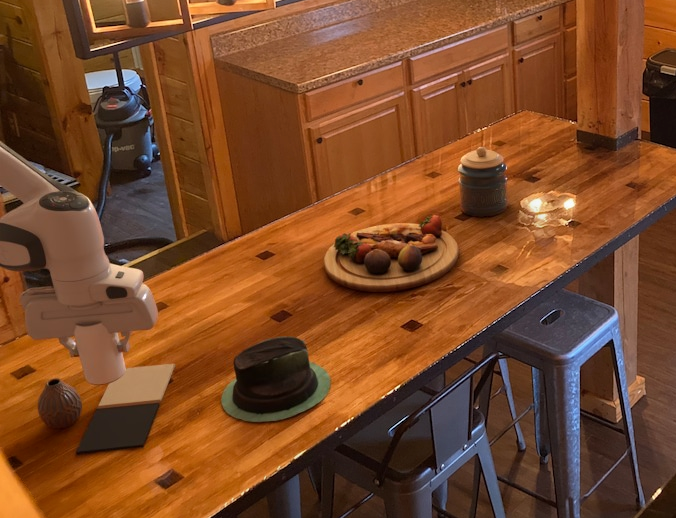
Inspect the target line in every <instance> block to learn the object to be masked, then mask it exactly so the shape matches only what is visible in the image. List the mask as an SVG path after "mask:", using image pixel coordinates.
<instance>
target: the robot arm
mask: <svg viewBox="0 0 676 518" xmlns="http://www.w3.org/2000/svg"><path fill="white" fill-rule="evenodd" d="M0 187H1V188H3V190H6V191H7V192H8V193H10V194H11V195H13V196H14V197H15V198H17V199H18V200H20V201H21V202H22V204H21V205H19V206H17V207H16V208H14V209H12V210H10V211H9V212H6V213H5V214H3V215H2V216H1V217H0V268H1V269H5V270H7V271H12V272H19V273H21V272H33V271H40V270H43V269H46V270H48V271H49V273H50V278H51V282H52V285H50V286H48V285H47V286H41V287H30V288H27V289H26V290H25V291H23V292H22V293H21V294H20V295H19V302H20V305H21V306H20V307H21V308H22V309H23V311H24V317H25V327H26V334H27V335H28V337H30V339H32V340H34V341H40V340H53V339H58V341H59V344H61V345H62V346H63V347H64V348H65V349H66V350H68V353H69V355H70V358H80V357H79V353H78V349H77V345H76V341H74V339H72V338H75V335H74V331H75V328H76V325H75V324H77V325H88V324H97V323H99V322H102V325H103V326H104V327H105V328H106V329H107V331H108V333H118V334H119V333H120V335H121V336H120V337H123V339H119V343H118V344H117V349H119V350H118V352H119V353H122V354H123V353H129V351H130V349H131V345H130V341H129V340H130V338H131V335H132V334H133V332H139V331H140V332H141V331H149V330H152V329H153V328H154V326H155V325H156V323H157V322H158V319H159V310H158V306H157V303H156V301H155V297H154V295H153V293H152V291H151V289H150V288H149V286H148V285H147V284H146V283H143V282H144V277H145V275H144V272H143V271H142V270H141V269H139V268H133V267H128V266H123V265H118V264H114V263H111V262H110V260H109V257H108V255H107V254H106V252H105V249H104V247H105V237H104V233H103V229H102V225H101V221H100V219H99V215H98V212H97V211H96V208H95V206H94V204H93V203H92V201H91V200H90V199H89V197H88V196H87V195H85V194H83V193H81V192H78V191H76V189H73V188H72V187H70V186H68V185H66V184H64V183H62V182H60V181H58V180H55V178H53V177H51V176H50V175H48V174H47V173H45V172H44V171H42V170H40V168H38V167H37V166H35V164H32V163H31V162H30V161H28V160H27V159H25V158H24V157H23V156H22V155H20V154H19V153H18V152H16V151H15V150H13V149H12V148H11V147H9V146H7V145H6V144H5V143H4V142H2V141H1V140H0Z"/></svg>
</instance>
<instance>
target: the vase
mask: <svg viewBox="0 0 676 518" xmlns="http://www.w3.org/2000/svg"><path fill="white" fill-rule="evenodd" d="M82 411H83V401H82V398H81V395H80V393H79V392H78V390H77V389H76V388H75V387H74V386H72V385H70V384H68V383H66V382H64V381H63V380H62V379H60V378H56V377H55V378H52V379H50V380H49V379H48V381H47V382H46V383H45V386H44V389H43V390H42V392H41V393H40V395H39V397H38V400H37V413H38V415H39V418H40V419H41V421H42V422H43V423H44V425H46V426H48V427H49V428H53V429H57V430H58V429H60V430H61V429H65V428H68V427H71V426H72V425H74V424H75V423H76V422H77V421H78V419H79V418H80V416H81V414H82Z"/></svg>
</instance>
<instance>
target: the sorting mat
mask: <svg viewBox="0 0 676 518" xmlns="http://www.w3.org/2000/svg"><path fill="white" fill-rule="evenodd" d="M175 367H176V364H175V363H167V364H166V363H165V364H155V365H145V366H135V367H126V370H125V373H124V374H123V376H122V377H121V378H119V379H118V380H116V381H114V382H112V383H109V384H107V386H106V389H105V391H104V393H103V395H102V397H101V399H100V401H99V403H98V405H97V407H96V410H95V412H94V413H93V416H92V418H91V420H90V422H89V424H88V427H87V428H86V430H85V432H84V434H83V436H82V437H81V438H82V439H81V440H80V442H79V445H78V447H77V449H76V451H75V453H76V455H84V454H95V453H103V452H112V451H123V450H130V449H132V450H133V449H141V448H144V447H145V445H146V442H147V439H148V437H149V434H150V432H151V429H152V426H153V424H154V421H155V419H156V416H157V413H158V411H159V408H160V406H161V404H162V401H163V398H164V396H165V393H166V390H167V388H168V385H169V383H170V380H171V377H172V376H173V373H174V370H175Z"/></svg>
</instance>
